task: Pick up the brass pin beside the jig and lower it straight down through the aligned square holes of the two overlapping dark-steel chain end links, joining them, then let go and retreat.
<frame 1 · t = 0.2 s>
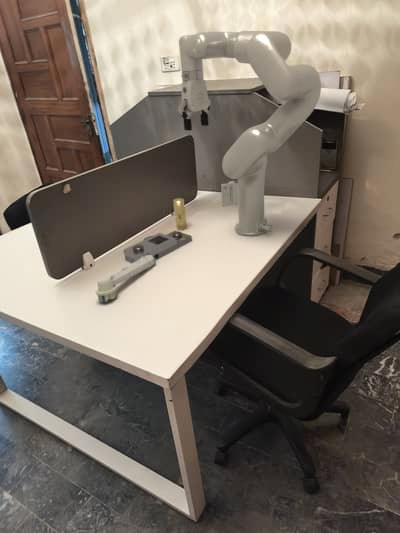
hand: (196, 127, 137), 36 cm above the table, tool pointing down, fingers open, 9 cm apart
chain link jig: (159, 250, 131), on the table
brass pin: (181, 228, 147), on the table
hinge: (237, 205, 165), on the table
toothbrush head: (129, 283, 114), on the table, touching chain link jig
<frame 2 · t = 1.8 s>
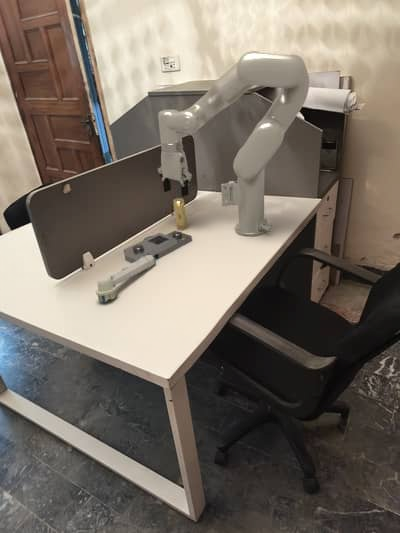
hand: (176, 193, 140), 15 cm above the table, tool pointing down, fingers open, 9 cm apart
nothing on the table moved.
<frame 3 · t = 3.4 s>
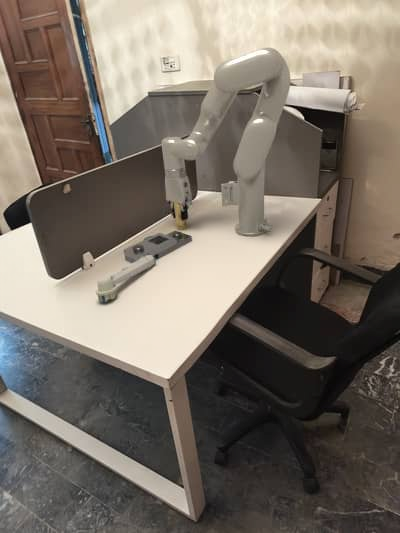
hand: (180, 217, 145), 5 cm above the table, tool pointing down, fingers closed on brass pin, 4 cm apart
brass pin: (181, 228, 147), on the table, touching gripper
everything else where it was.
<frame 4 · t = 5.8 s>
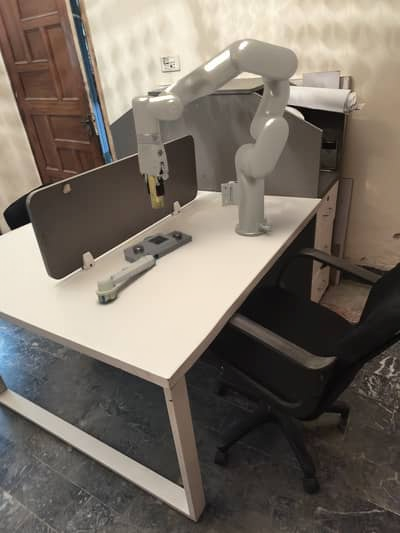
hand: (156, 193, 125), 20 cm above the table, tool pointing down, fingers closed on brass pin, 4 cm apart
brass pin: (158, 206, 127), point 15 cm above the table, touching gripper
everything else where it was.
when the fingers open (6 cm above the table, at t = 8.4 s): brass pin drops 1 cm, resting in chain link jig.
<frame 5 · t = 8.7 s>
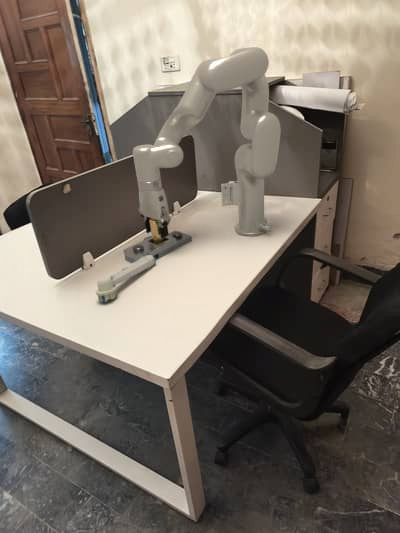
hand: (157, 233, 128), 6 cm above the table, tool pointing down, fingers open, 7 cm apart
brass pin: (160, 250, 132), resting in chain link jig
everything else where it was.
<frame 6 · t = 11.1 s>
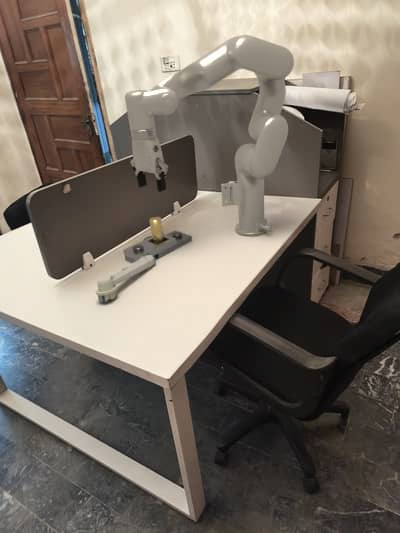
hand: (152, 188, 121), 22 cm above the table, tool pointing down, fingers open, 9 cm apart
nothing on the table moved.
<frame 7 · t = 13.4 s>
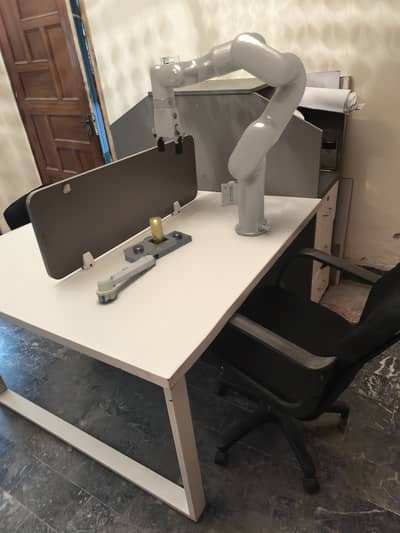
hand: (170, 152, 139), 28 cm above the table, tool pointing down, fingers open, 9 cm apart
nothing on the table moved.
at the end: brass pin 0.0 cm off-centre on the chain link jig, point 0.0 cm above the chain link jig's base; brass pin tilted 0°; the gripper is holding nothing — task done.
